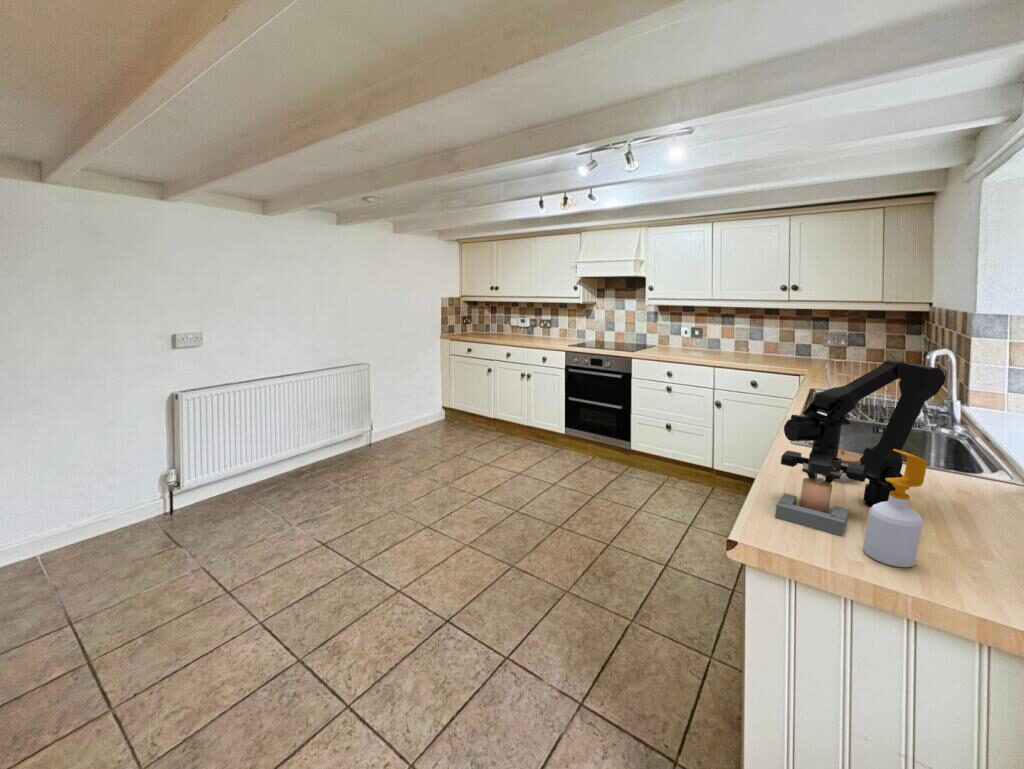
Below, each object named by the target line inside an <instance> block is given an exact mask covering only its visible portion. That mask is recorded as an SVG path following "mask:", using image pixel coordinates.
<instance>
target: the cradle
mask: <svg viewBox="0 0 1024 769" xmlns="http://www.w3.org/2000/svg"><path fill="white" fill-rule="evenodd" d="M797 499H798V496H796V495H792V494H789V493H785V492H784V493H783V494H782V495H781V498H780V499H779V500H778V502H777V504H776V505H775V506H776V508H775V514H774V515H775V516H774V517H775V519H779V520H783V521H787V522H790V523H793V524H796V525H797V524H798V525H800V526H801V525H802V526H805V527H807V528H812V529H814V530H818V531H821V532H826V533H829V534H833V535H837V536H840V537H843V535H844V532H845V528H846V525H847V522H848V516H849V508H845V507H840V506H837V505H834V506H833V509H832V511H831V513H829V512H828V513H824V512H820V511H816V510H812V509H808V508H804V507H801V506H800V505H797Z"/></svg>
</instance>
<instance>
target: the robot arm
mask: <svg viewBox="0 0 1024 769" xmlns="http://www.w3.org/2000/svg"><path fill="white" fill-rule="evenodd" d="M946 377H947V376H946V375H945V372H944V371H943V370H942V369H941V368H940V367H939V368H938V367H934V366H927V365H922V364H910V363H907V362H904V361H899V360H893V359H890V360H885V361H884V362H883V363H882V364H881V365H879V366H878V367H875V368H873V369H872V370H870V371H869V372H867V373H864V374H863V375H861V376H860V377H858V378H855V379H854V380H852V381H850V382H849V383H847V384H846V385H842V386H838V387H836V386H835V387H831V388H828V389H826V390H824V391H821V392H819V393H818V394H816V395H815V397H814V400H813V401H811V403H810V404H809V405H808V406H807V407H806V409H805V410H804V412H803V413H802V415H801V414H799V415H798V414H791V416H790V419H788V420H787V421H786V422H785V424H784V426H783V433H784V436H785V437H786V439H787V440H789V442H808V441H809V442H810V441H811V442H812V445H811V446H812V447H811V451H810V453H809V457H803V456H802V452H799V451H798V452H797V451H794V450H793V451H792V450H786V451H784V453H783V454H782V455H781V459H780V464H781V465H783V466H787V467H795V466H797V465H798V464H799V465H800V464H801V465H802V469H801V472H803V473H806V474H807V477H808V478H817V479H818V475H822V476H825V479H824V480H825V481H828V482H830V483H831V484H832V482H833V481H835V480H834V479H840V477H841V475H842V473H846V476H847V477H848V478H849V479H852V481H857V482H861V483H862V482H865V481H866V479H867V480H868V483H865V487H864V492H863V501H864V505H865V506H869V507H872V506H873V505H874V504H877V503H880V502H886V501H888V499H889V494H890V491H895V488H896V487H894V486H893V484H892V483H890V482H888V481H886V480H885V479H886V478H899V477H903V475H904V474H902V472H901V471H902V468H903V465H904V464H903V457H902V454H901V453H899V452H896V451H893V449H896V450H900V451H903V448H904V445H905V443H906V441H907V439H908V437H909V435H910V433H911V431H912V429H913V427H914V425H915V423H916V421H917V419H918V416H919V414H920V412H921V409H922V408H923V406H924V404H925V402H927V401H928V400H930V399H931V398H932V397H934V396H936V395H937V394H938V393H939V391H940V389H941V388H942V387H943V386H944V384H945V381H946ZM898 379H899V382H898V387H899V391H900V397H899V399H898V401H897V403H896V405H895V407H894V410H893V412H892V414H891V416H890V418H889V420H888V422H887V425H886V426H885V429H884V431H883V434H882V435H881V437H880V439H879V442H878V443H877V445H875V446H873V447H872V448H870V447H866V448H865V449H864V450H863V454H862V455H861V456H862V457H861V458H860V461H861V462H860V464H855V463H850V462H849V465H848V466H844V465H841V463H842V459H841V458H837V455H838V450H839V448H840V447H839V446H840V440H841V439H840V438H841V434H842V429H843V428H842V427H843V426H844V425H845V426H846V425H847V426H848V425H851V421H850V420H849V419H847V417H846V415H848V414H849V413H850V412H852V411H853V410H854V409H855V408H856V406H857V405H858V403H859V402H860V401H861V400H863V399H864V398H866V397H868V396H870V395H871V394H874V393H875V392H877V391H878V390H880V389H882V388H884V387H886V386H888V385H889V384H892V383H893V382H895V381H897V380H898Z"/></svg>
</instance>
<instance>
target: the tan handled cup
mask: <svg viewBox="0 0 1024 769" xmlns="http://www.w3.org/2000/svg"><path fill="white" fill-rule="evenodd" d="M800 492H801V493H800V500H799V506H801V507H804V508H808V509H812V510H816V511H820V512H824V513H828V514H829V511H830V505H831V504H830V503H831V498H832V492H833V484H832V482H831V483H830V482H828V481H825V479H824V478H822V477H818V476H817V478H809V477H805V478H803V479H802V486H801V491H800Z"/></svg>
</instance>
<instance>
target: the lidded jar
mask: <svg viewBox="0 0 1024 769" xmlns="http://www.w3.org/2000/svg"><path fill="white" fill-rule="evenodd" d="M862 456H863V455H860V454H858V453H856V452H852V451H848V450H846V449H842V448H841V449H838V455H837V458H841V459H842V463H841V465H844V466H848V465H849V462H850V463H855V464H860V462H861V461H860V458H861V457H862ZM836 480H837V482H840V481H841V483H848V482H851V480H852V479H849V478H848V477H847V476H846V473H842V475H841V477H840V479H834V480H833V481H836ZM852 481H853V480H852Z"/></svg>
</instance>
